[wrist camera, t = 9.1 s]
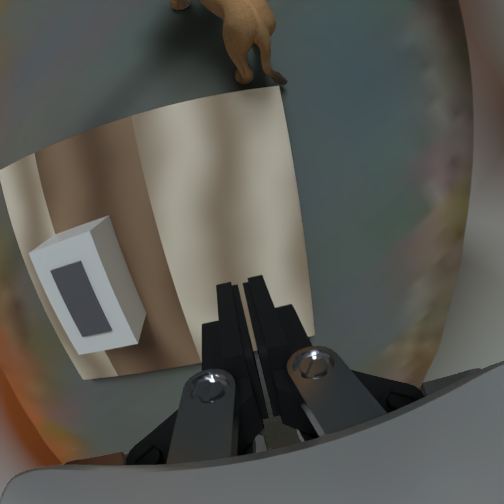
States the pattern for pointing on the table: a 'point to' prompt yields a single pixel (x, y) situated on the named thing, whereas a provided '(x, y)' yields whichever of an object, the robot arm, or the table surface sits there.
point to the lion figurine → (243, 32)
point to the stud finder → (90, 287)
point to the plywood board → (174, 216)
